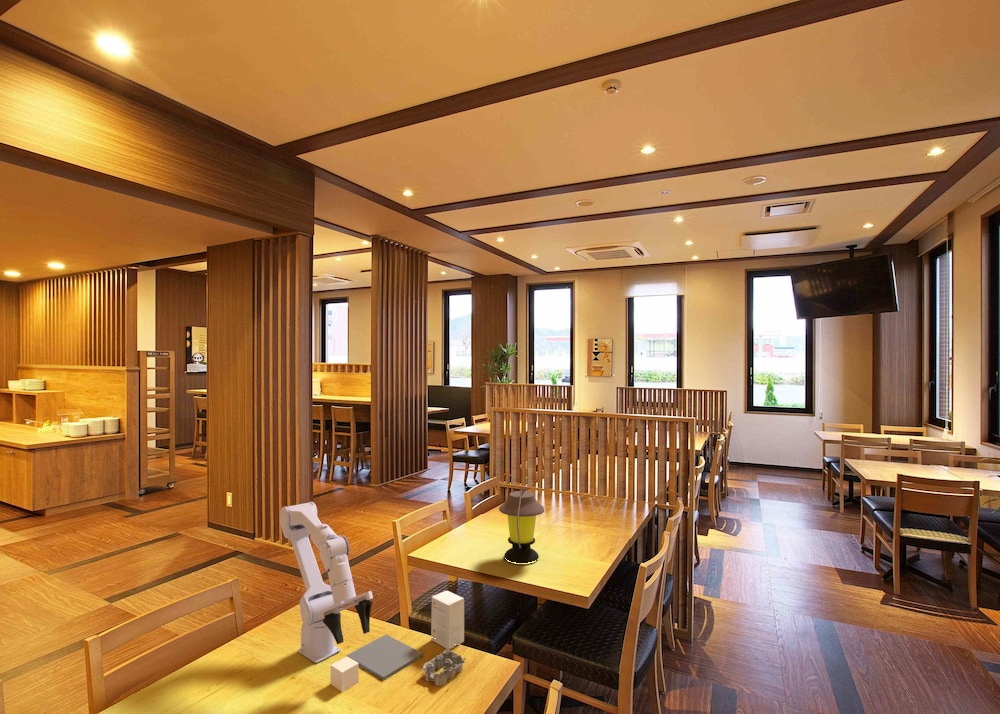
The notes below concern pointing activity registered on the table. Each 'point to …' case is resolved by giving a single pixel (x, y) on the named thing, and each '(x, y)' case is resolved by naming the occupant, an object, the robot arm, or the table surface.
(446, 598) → the small box
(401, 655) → the mat
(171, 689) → the table surface
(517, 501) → the lantern
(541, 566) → the table surface
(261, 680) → the table surface
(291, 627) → the table surface
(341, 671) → the cube
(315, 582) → the robot arm
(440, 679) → the egg carton
